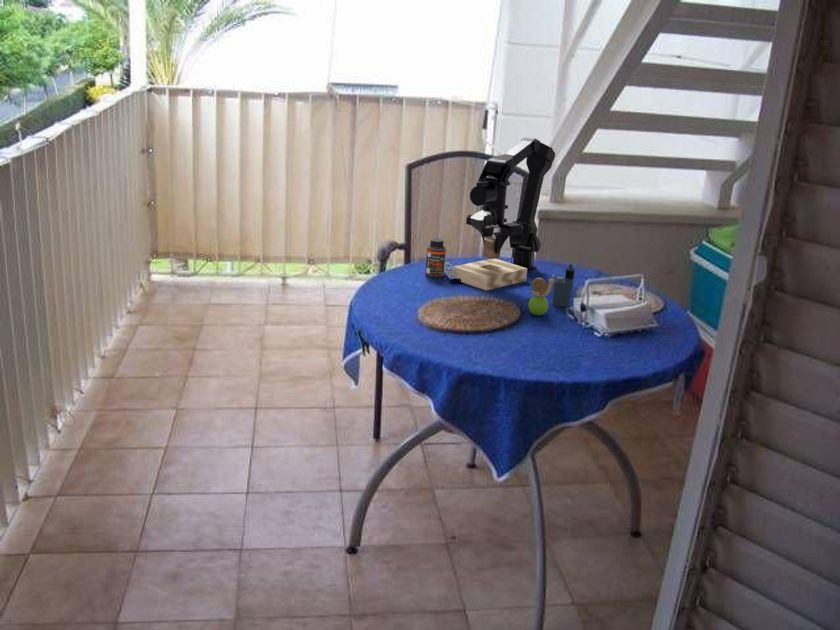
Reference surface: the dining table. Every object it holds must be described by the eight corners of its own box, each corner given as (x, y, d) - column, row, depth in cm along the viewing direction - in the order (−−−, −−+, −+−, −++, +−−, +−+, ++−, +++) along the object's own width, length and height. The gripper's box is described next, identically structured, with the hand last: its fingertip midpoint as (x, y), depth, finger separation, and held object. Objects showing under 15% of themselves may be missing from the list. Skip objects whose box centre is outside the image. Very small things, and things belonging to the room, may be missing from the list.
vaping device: (571, 307, 233) (576, 266, 229) (552, 306, 233) (557, 265, 229) (570, 304, 235) (574, 263, 231) (551, 303, 235) (555, 262, 231)
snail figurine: (545, 320, 221) (550, 277, 217) (524, 315, 224) (528, 272, 220) (554, 315, 225) (558, 273, 222) (532, 310, 229) (536, 268, 225)
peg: (491, 254, 255) (492, 235, 253) (500, 257, 252) (501, 238, 250) (482, 256, 252) (484, 237, 250) (491, 259, 250) (493, 239, 248)
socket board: (493, 270, 265) (494, 258, 264) (526, 280, 256) (527, 268, 254) (452, 278, 254) (453, 266, 252) (485, 290, 244) (486, 277, 243)
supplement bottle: (427, 278, 253) (429, 242, 250) (423, 272, 259) (424, 237, 255) (446, 277, 255) (448, 242, 251) (441, 272, 260) (443, 237, 256)
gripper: (454, 198, 248) (451, 249, 253) (500, 210, 235) (496, 263, 240) (480, 195, 255) (477, 244, 260) (526, 206, 242) (521, 257, 247)
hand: (491, 252), depth 252 cm, fingers closed on peg, 4 cm apart
